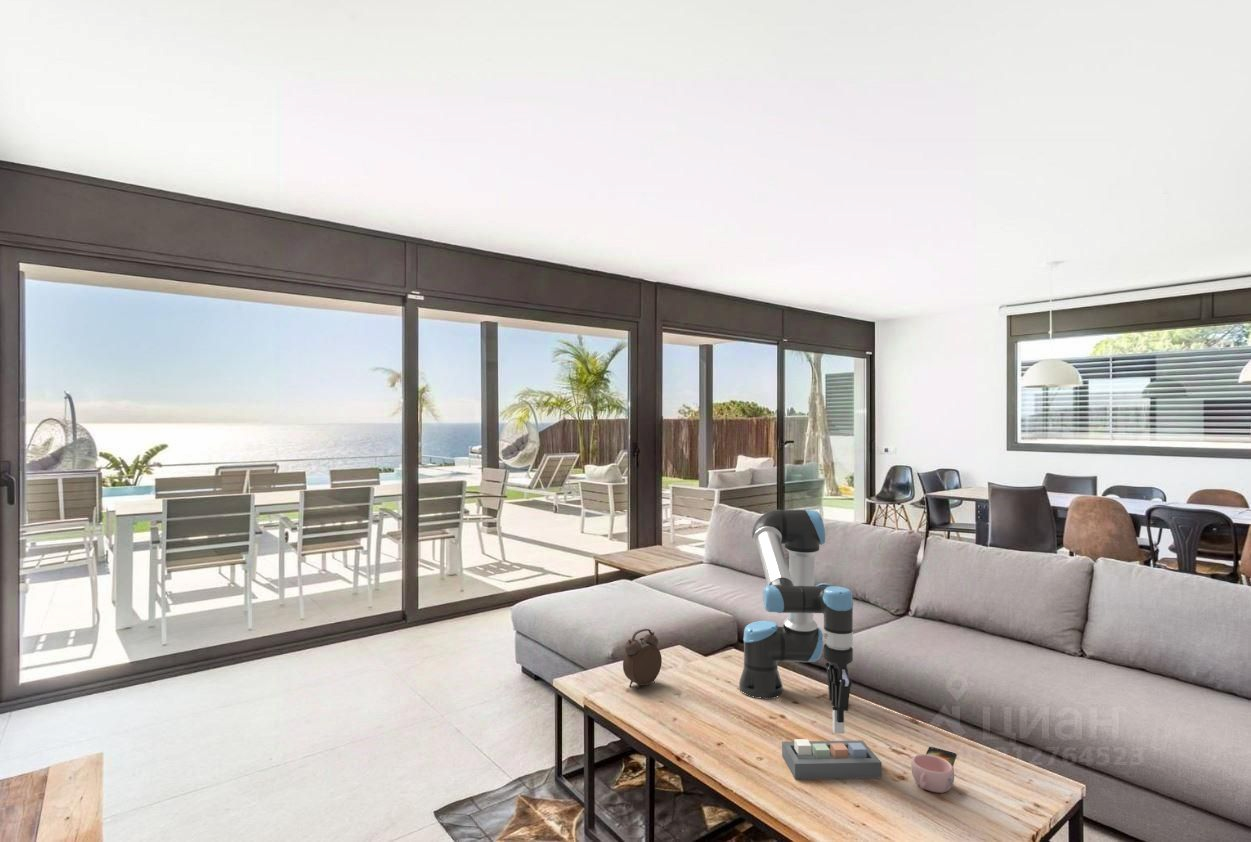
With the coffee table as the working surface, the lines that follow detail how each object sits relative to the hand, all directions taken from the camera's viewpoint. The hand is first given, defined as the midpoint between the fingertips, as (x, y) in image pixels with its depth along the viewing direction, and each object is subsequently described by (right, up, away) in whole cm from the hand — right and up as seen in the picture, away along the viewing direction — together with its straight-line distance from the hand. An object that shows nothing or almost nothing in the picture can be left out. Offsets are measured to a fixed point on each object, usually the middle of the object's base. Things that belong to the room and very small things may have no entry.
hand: (838, 731), depth 171 cm
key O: (-10, -5, -1) cm, 11 cm away
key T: (0, -6, -1) cm, 6 cm away
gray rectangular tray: (-3, -9, -1) cm, 9 cm away
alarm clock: (-52, -11, +56) cm, 77 cm away
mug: (+20, -9, -11) cm, 24 cm away
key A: (+5, -6, -1) cm, 8 cm away
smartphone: (+28, -10, +2) cm, 30 cm away
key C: (-5, -6, -1) cm, 8 cm away
